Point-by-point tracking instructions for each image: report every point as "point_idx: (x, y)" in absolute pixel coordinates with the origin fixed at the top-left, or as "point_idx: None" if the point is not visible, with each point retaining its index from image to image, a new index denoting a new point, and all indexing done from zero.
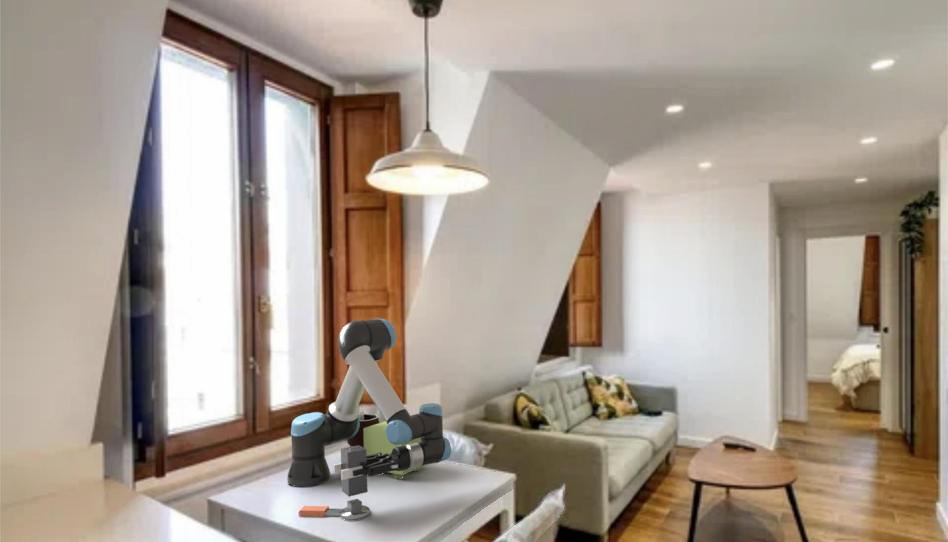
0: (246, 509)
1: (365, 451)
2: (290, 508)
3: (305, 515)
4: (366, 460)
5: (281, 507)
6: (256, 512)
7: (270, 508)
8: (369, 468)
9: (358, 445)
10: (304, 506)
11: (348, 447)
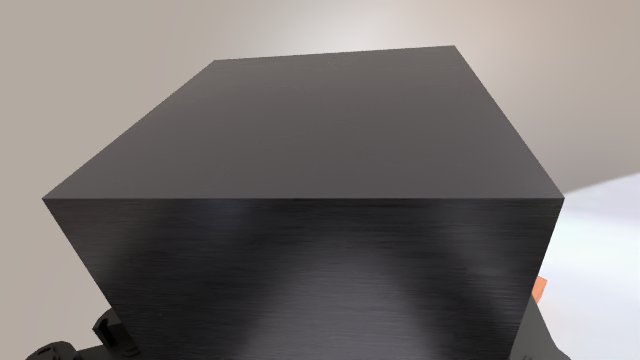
0: (635, 177)
1: (81, 224)
2: (604, 266)
3: None
4: (143, 351)
5: (628, 247)
6: (593, 190)
7: (626, 221)
8: (33, 354)
9: (529, 183)
10: (539, 278)
11: (459, 79)
